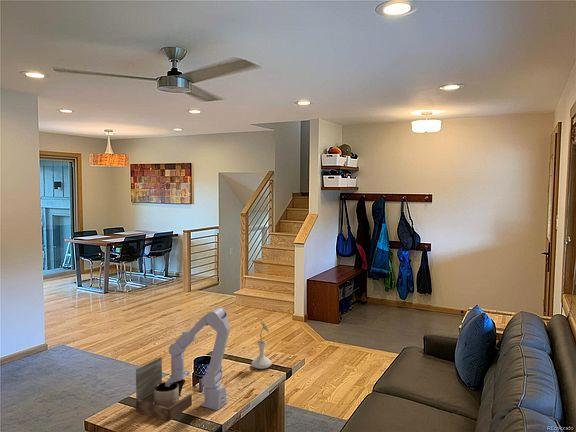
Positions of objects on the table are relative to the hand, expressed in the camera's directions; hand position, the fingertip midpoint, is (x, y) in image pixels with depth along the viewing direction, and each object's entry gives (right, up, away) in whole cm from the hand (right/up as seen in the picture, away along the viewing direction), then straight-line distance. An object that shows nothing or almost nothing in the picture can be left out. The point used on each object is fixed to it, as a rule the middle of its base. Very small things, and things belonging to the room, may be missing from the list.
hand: (177, 395), depth 196 cm
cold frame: (-4, -2, -7) cm, 9 cm away
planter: (-3, -2, -7) cm, 8 cm away
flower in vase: (+37, -1, +40) cm, 54 cm away
